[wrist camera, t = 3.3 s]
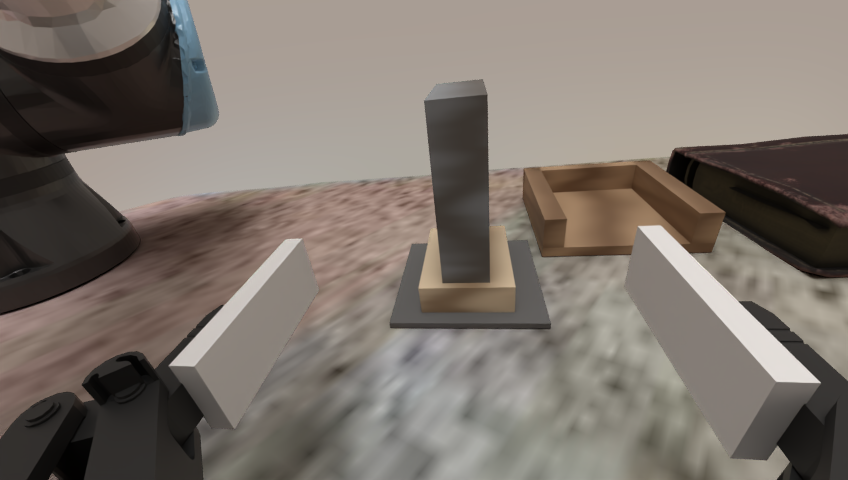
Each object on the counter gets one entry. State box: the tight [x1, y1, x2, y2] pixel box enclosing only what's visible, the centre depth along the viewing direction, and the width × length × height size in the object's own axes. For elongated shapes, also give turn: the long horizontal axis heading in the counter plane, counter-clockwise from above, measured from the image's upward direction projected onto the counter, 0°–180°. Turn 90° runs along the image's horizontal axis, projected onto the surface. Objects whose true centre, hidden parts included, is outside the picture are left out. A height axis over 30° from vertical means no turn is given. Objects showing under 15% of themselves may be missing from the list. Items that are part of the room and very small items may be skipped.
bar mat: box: [390, 240, 551, 328], centre depth 26 cm, size 10×10×1 cm
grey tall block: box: [418, 79, 516, 312], centre depth 23 cm, size 6×8×13 cm
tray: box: [523, 160, 726, 257], centre depth 31 cm, size 12×12×3 cm
